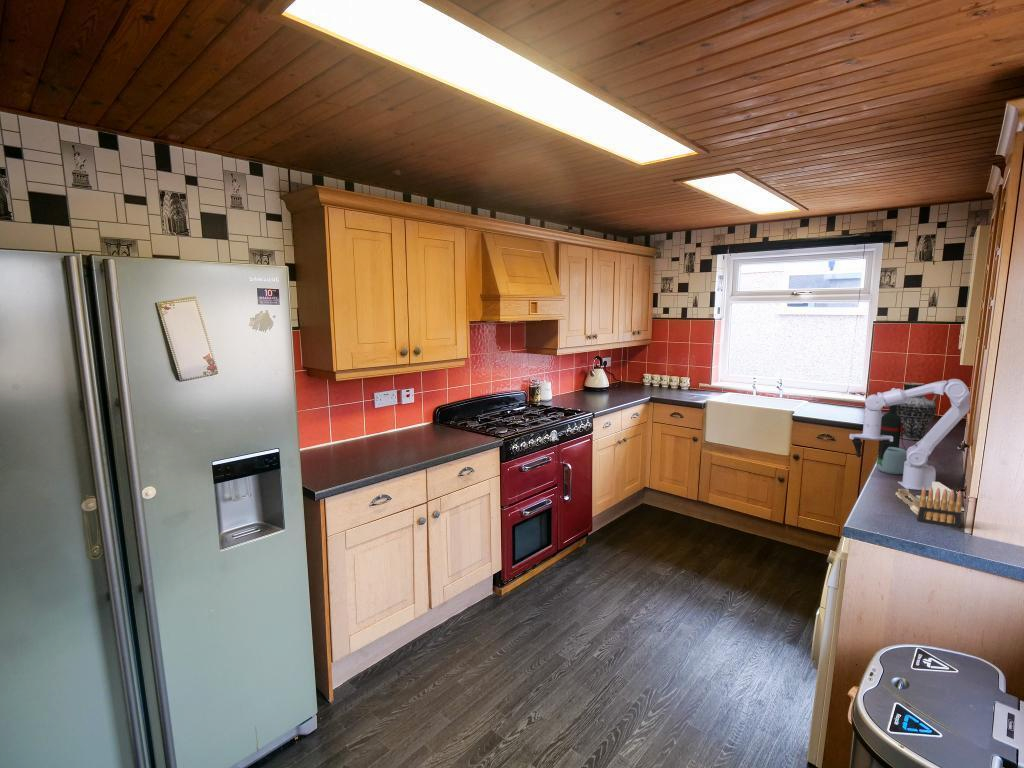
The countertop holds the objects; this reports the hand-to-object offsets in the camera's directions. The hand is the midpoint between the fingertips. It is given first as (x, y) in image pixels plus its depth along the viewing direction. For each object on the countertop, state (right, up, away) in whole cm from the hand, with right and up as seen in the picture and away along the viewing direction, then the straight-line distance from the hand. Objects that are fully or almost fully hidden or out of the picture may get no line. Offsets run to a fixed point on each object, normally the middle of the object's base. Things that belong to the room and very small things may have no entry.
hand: (869, 457), depth 207 cm
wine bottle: (+34, -5, +35) cm, 49 cm away
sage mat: (+7, -13, -26) cm, 30 cm away
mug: (+18, -8, +13) cm, 24 cm away
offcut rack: (-2, -13, -26) cm, 29 cm away
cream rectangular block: (+7, -12, -26) cm, 29 cm away
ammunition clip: (-7, -16, -42) cm, 45 cm away
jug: (+69, 0, +67) cm, 96 cm away
